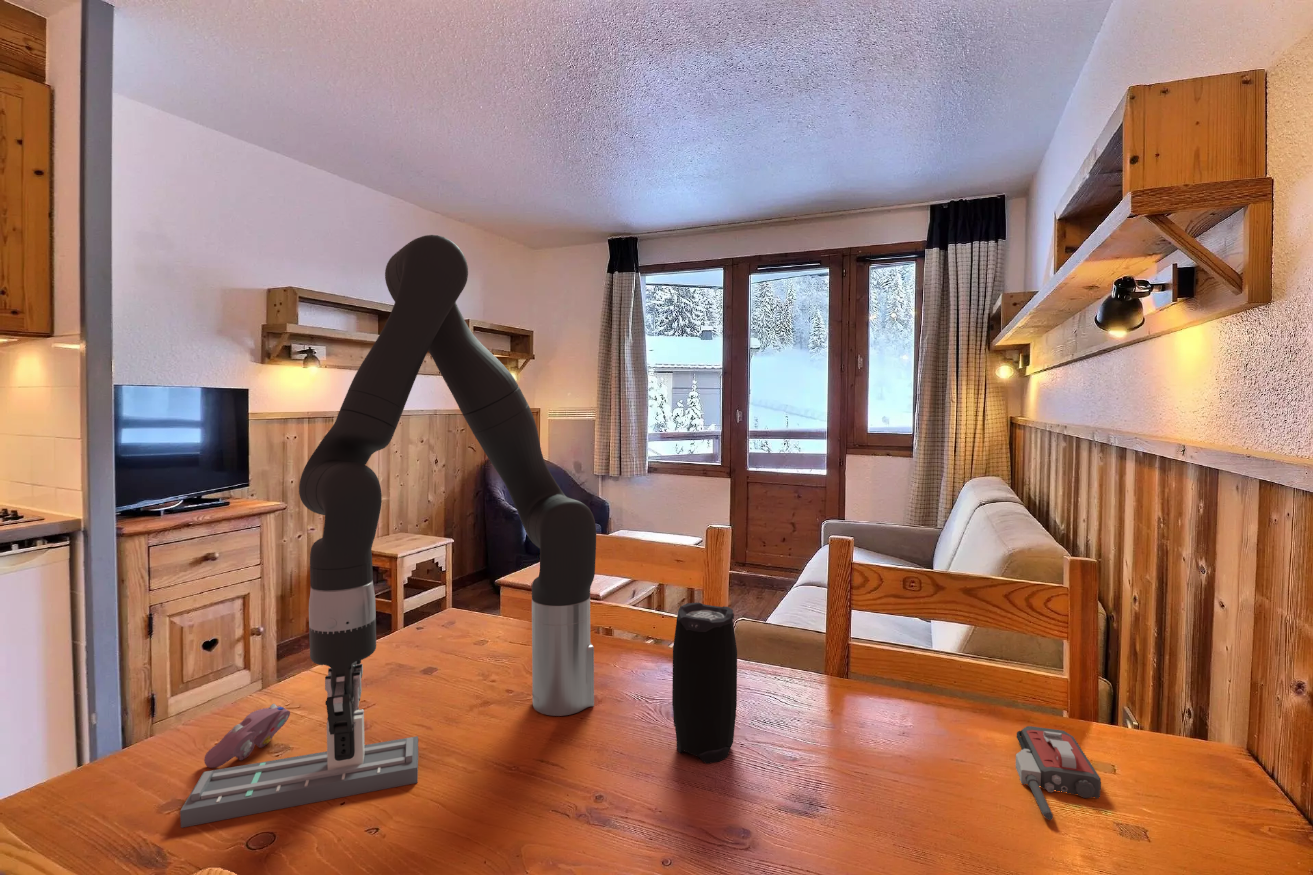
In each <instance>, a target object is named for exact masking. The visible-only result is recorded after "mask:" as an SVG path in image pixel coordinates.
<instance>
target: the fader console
mask: <svg viewBox="0 0 1313 875" xmlns="http://www.w3.org/2000/svg"><path fill="white" fill-rule="evenodd" d="M418 769H419V736H418V735H417V736H411V737H405V738H397V739H392V740H387V741H380V742H375V743H368V744H365V755H364V761H363V764H360V765H354V766H349V767H343V768H337V769H332V770H328V762H327V750H326V751H321V752H315V753H309V754H303V755H297V756H292V757H285V758H279V759H274V760H273V759H272V760H266V761H261V762H255V763H249V764H244V765H243V764H242V765H237V766H232V767H225V768H220V769H213V770H207V771H203V773H202V774H201V776H200V777H199V779H198V781H197V782H196V784H195V785H194V787H193V788H192V790H191V792H190V794H189V796H188V797H187V798H186V801H185V802H184V804H183V805H182V807H181V809H180V812H179V814H180V815H179V816H180V828H187V827H192V826H197V825H203V824H207V823H213V822H218V821H224V820H229V819H234V818H240V817H244V816H250V815H255V814H260V813H265V812H272V811H277V810H281V809H287V808H293V807H297V806H302V805H303V806H304V805H309V804H313V803H318V802H323V801H324V802H325V801H329V800H335V799H338V798H345V797H350V796H355V795H361V794H366V793H372V792H376V791H381V790H382V791H383V790H386V789H393V788H396V787H397V788H398V787H402V786H408V785H412V784H417V783H418V782H419V780H418V779H419V777H418V776H419V770H418Z"/></svg>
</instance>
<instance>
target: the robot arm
mask: <svg viewBox="0 0 1313 875" xmlns="http://www.w3.org/2000/svg"><path fill="white" fill-rule="evenodd" d="M384 271H385V272H384V277H385V278H384V279H385V280H384V281H385V285H386V287H387V291H388V292H389V295H390V296H391V298H392V300H393V301H394V305H393V306H392V309H391V311H390V314H389V316H388V318H387V320H386V322H385V324H384V326H383V328H382V330H381V331H380V334H379V335H378V337H377V339H376V340H375V342H374V343H373V345H372V346H371V348H370V349H369V351H368V352H367V355H366V356H365V358H364V359H363V361H362V363H361V364H360V366H359V368H358V369H357V370H356V373H355V375H354V377H353V379H352V380H351V383H350V385H349V387H348V389H347V392H346V394H345V397H344V399H343V401H342V404H341V407H339V408H340V409H339V412H337V416H336V420H335V422H334V423H333V425H332V426H331V428H330V429H329V430H328V431H327V433H326V434H325V435H324V437H322V439H321V441H320V443H319V444H318V446H317V447H316V449H315V450H314V451H313V453H312V454H311V455H310V458H309V459H308V460H307V462H306V464H305V466H304V469H303V470H302V473H301V475H300V479H299V484H298V495H299V498H300V501H301V503H302V505H304V507H305V508H306V509H308V510H309V511H311V512H312V513H314V514H318V515H322V516H324V524H323V533H322V537H321V538H319V539H317V540H316V541H315V542H313V544H312V545H311V548H310V553H309V572H310V573H309V582H310V586H309V587H310V594H309V600H308V626H309V628H308V630H309V635H308V636H309V658H310V660H311V661H312V662H313V663H314V664H317V665H319V666H326V667H328V669H327V675H325V677H324V678H325V680H324V690H325V691H326V692H327V693H326V694H327V695H326V696H327V697H326V700H325V706H326V713H327V718H328V722H329V732H330V735H332V734H334V753H335V760H337V761H341V760H346V759H351V758H353V756H354V753H355V742H354V728H355V726H356V722H355V711H356V710H360V706H359V705H360V701H361V697H362V692H363V691H362V678H363V672H364V669H363V668H364V666H363V663H362V660H365V659H367V658H368V657H370V656H371V655H373V654H374V652H375V651H376V649H377V620H376V619H377V618H376V614H377V613H376V596H375V595H376V594H375V588H374V581H373V579H374V578H373V575H374V574H373V554H372V552H373V550H372V549H373V545H374V541H375V536H376V534H377V528H378V524H379V519H380V514H381V509H382V503H383V502H382V499H383V497H382V495H383V494H382V488H381V483H380V480H379V478H378V476H377V474H376V473H375V471H374V470H373V469H372V468H371V467H370V466H368V465H367V463H368V462H369V460H370V458H371V457H372V455H373V454H374V453H376V452H379V451H382V450H383V449H385V448H387V447H388V445H389V444H390V442H391V441H392V439H393V437H394V434H395V432H396V430H397V428H398V424H399V423H400V419H401V416H402V415H403V411H404V409H405V406H406V405H407V404H406V403H407V401H408V398H409V396H410V394H411V391H412V390H413V387H414V383H415V381H416V379H417V376H418V374H419V372H420V370H421V366H422V365H423V362H424V360H425V358H426V356H427V354H428V352H429V354H430V357H431V358H432V360H433V362H434V363H435V366H436V367H437V370H438V371H439V373H440V375H441V377H442V380H444V383H445V384H446V386H447V387H448V390H449V391H450V393H451V395H452V397H453V398H454V400H455V402H456V404H457V406H458V408H459V411H460V412H461V414H462V416H463V417H464V420H465V421H466V423H467V425H468V427H469V429H470V430H471V432H472V434H473V436H474V437H475V439H476V440H477V442H478V443H479V445H480V447H481V448H482V450H483V452H484V453H485V455H486V457H487V458H488V460H489V461H490V463H491V465H492V467H493V468H494V469H495V471H496V473H497V474H498V475H499V477H500V478H501V480H502V482H503V483H504V485H505V487H506V488H507V491H508V493H509V495H510V498H511V501H512V502H513V504H514V507H515V510H516V511H517V515H518V517H519V519H520V523H521V524H522V527H523V529H524V531H525V534H526V535H527V537H528V539H529V541H531V542H532V544H533V545H535V547H537V548H538V549H539V574H538V576H537V577H536V578H534V579H533V581H532V583H531V655H532V656H531V657H532V658H531V661H532V662H531V663H532V666H531V667H532V668H531V669H532V676H531V677H532V682H531V683H532V688H531V689H532V691H531V692H532V693H531V695H532V707H533V709H534V711H536V712H538V713H540V714H543V715H547V716H553V717H555V716H556V717H557V716H558V717H560V716H561V717H562V716H568V715H569V716H570V715H573V714H576V713H579V712H581V711H584V710H585V709H587V708H589V707H594V706H595V648H594V645H593V644H592V642H591V588H592V584H593V581H594V579H595V574H596V560H597V559H596V558H597V557H596V555H597V552H596V551H597V548H596V547H597V527H596V526H597V525H596V521H595V520H596V519H595V516H594V514H593V512H592V511H591V509H590V507H589V506H587V505H586V504H585V503H584V502H581V501H580V500H578V499H574V498H571V497H568V496H566V495H565V493H564V491H563V490H562V489H561V487H560V486H559V484H558V483H557V481H556V480H555V478H554V476H553V475H552V473H551V471H550V469H549V468H548V466H547V463H546V460H545V459H544V456H543V453H542V452H543V451H542V448H541V443H540V437H539V432H538V431H539V430H538V426H537V423H536V419H535V417H534V414H533V412H532V409H531V408H530V405H529V403H528V402H527V399H526V397H525V395H524V394H523V392H522V390H521V388H520V386H519V385H518V382H517V381H516V379H515V377H514V376H513V374H512V373H511V372H510V371H509V370H508V368H506V366H505V365H504V364H503V362H502V361H500V359H498V358H497V356H495V355H494V354H493V353H492V352H491V351H490V350H489V349H488V348H487V347H486V346H485V345H483V343H481V341H480V340H479V339H478V338H477V337H476V335H475V334H474V333H473V332H472V330H471V329H470V327H469V326H468V324H467V322H466V321H465V319H464V317H463V314H462V312H461V310H460V309H459V307H458V304H457V300H458V298H459V297H460V296H461V294H462V292H463V291H464V289H465V287H466V285H467V283H468V276H469V266H468V262H467V259H466V257H465V254H464V253H463V251H462V250H461V248H460V247H459V246H458V245H457V244H456V243H454V241H452V240H451V239H449V238H447V237H444V236H441V235H439V234H438V235H437V234H429V235H428V234H427V235H423V236H420V237H417V238H414V239H412V240H411V241H409V242H408V243H407V244H405V245H404V246H403V247H402V248H400V249H399V250H398V251H396V252H395V253H394V254H393V255H392V256H391V257H390V258H389V260H388V262H387V263H386V266H385V270H384Z"/></svg>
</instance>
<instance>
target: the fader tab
mask: <svg viewBox="0 0 1313 875" xmlns="http://www.w3.org/2000/svg"><path fill="white" fill-rule="evenodd" d="M355 722H356V726H355V728H354V742H355V753H354V756H353V758H351V759H346V760H341V761H337V760H335V753H334V734H332V735H330V732H329V722H328V717H327V718H326V751H327V762H328V770H332V769H337V768H343V767H349V766H354V765H360V764H363V761H364V755H365V745H366V744H365V710H364V709H363V708H362V709H359V710H356V711H355Z"/></svg>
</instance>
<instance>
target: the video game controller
mask: <svg viewBox="0 0 1313 875" xmlns="http://www.w3.org/2000/svg"><path fill="white" fill-rule="evenodd" d="M290 715H291V710H288V709H287V708H285V707H283V706H280V705H276V703H272V704H271V705H270V706H269V707H264V708H260V709H257V710H254V711H252V712H250V713H249V714H247V715H246V717H245V718H244V719H243V720H241V722H240V723H238V724H235V725H234V726H233V728H231V730H229V731H228V732H227V733H226V734H225V735H224V736H223V738H222V739H221V740H219V742H218V743H216V744H215V745H214V746H212V747H211V748H210V749H209V750H208V751H207V752H206V753H205V755H204V760H203V761H204V765H205V767H207V768H210V769H215V768H219V767H221V766H224V765H225V764H226V763H228V762H229V761H231V760H232V759H233V758H236V759H238V760H239V761H244V759H247V758H248V757H249V756H250V755H251V754H252V752H253V751H254V749H255V746H257V747H258V748H264V747H265V746H266V745H268V744H269V743H270V741H271V740H272V739H273V737H274V736H275V735H276V733H278V732H279V730H281V728H282V727H283V726H284V725H285V724H286V723H287V722H288V720H289V717H290Z"/></svg>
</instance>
